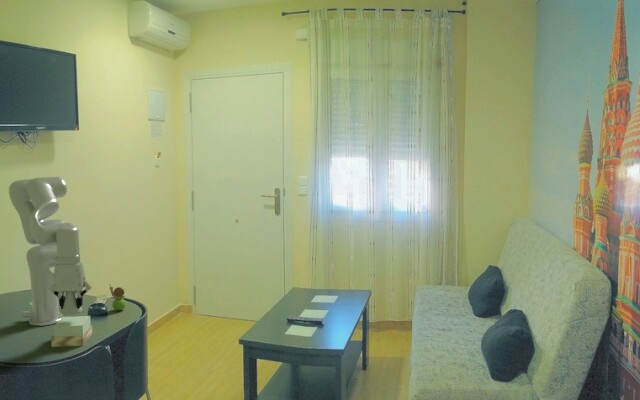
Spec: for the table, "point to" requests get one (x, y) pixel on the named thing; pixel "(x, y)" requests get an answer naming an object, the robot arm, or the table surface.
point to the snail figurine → (118, 298)
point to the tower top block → (72, 326)
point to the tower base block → (71, 339)
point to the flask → (70, 304)
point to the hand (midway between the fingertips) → (71, 307)
